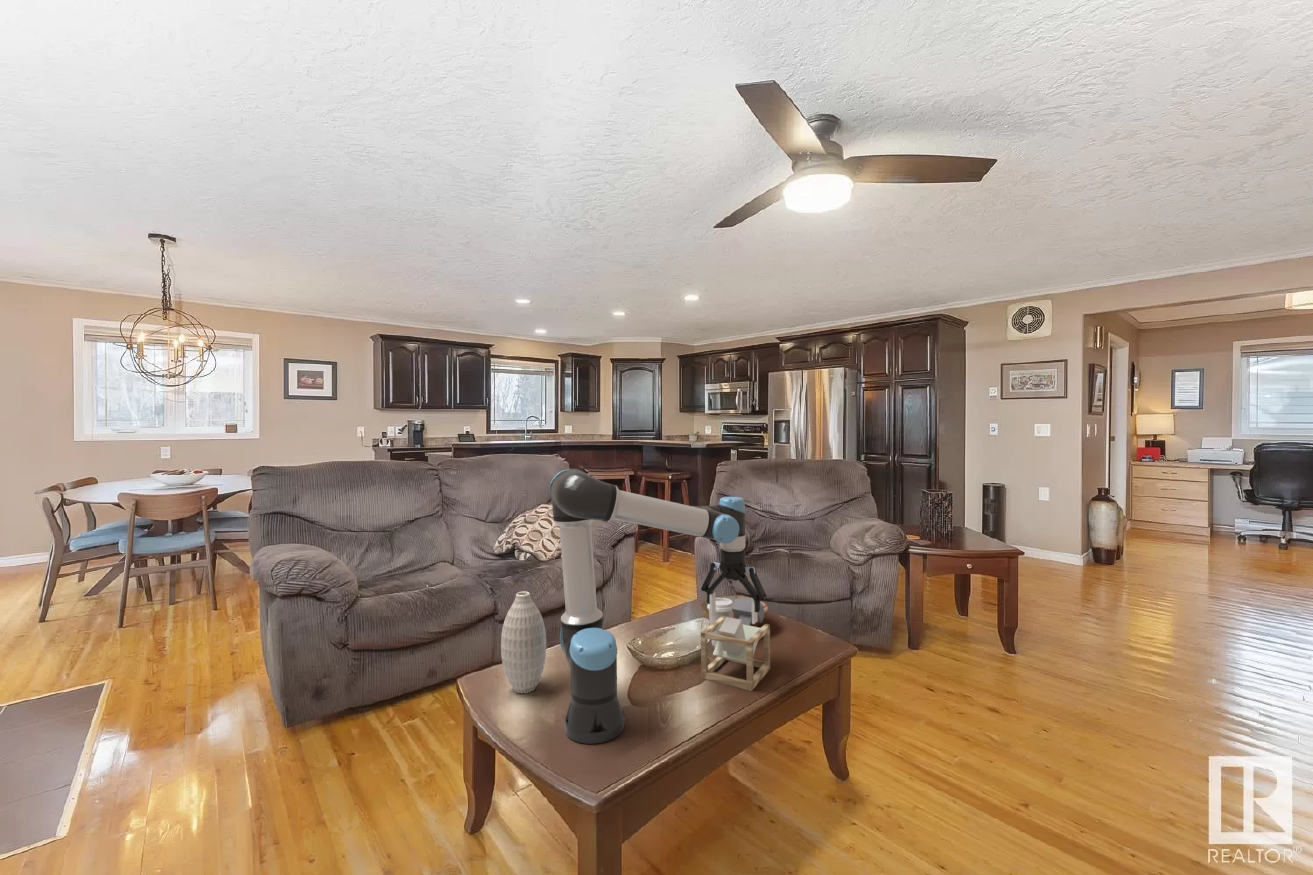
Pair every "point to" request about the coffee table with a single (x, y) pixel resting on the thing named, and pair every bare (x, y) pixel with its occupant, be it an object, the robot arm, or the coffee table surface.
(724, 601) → the coffee cup
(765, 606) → the bowl
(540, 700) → the coffee table surface
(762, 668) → the maple stand
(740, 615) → the trapdoor
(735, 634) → the light gray block
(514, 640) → the vase
